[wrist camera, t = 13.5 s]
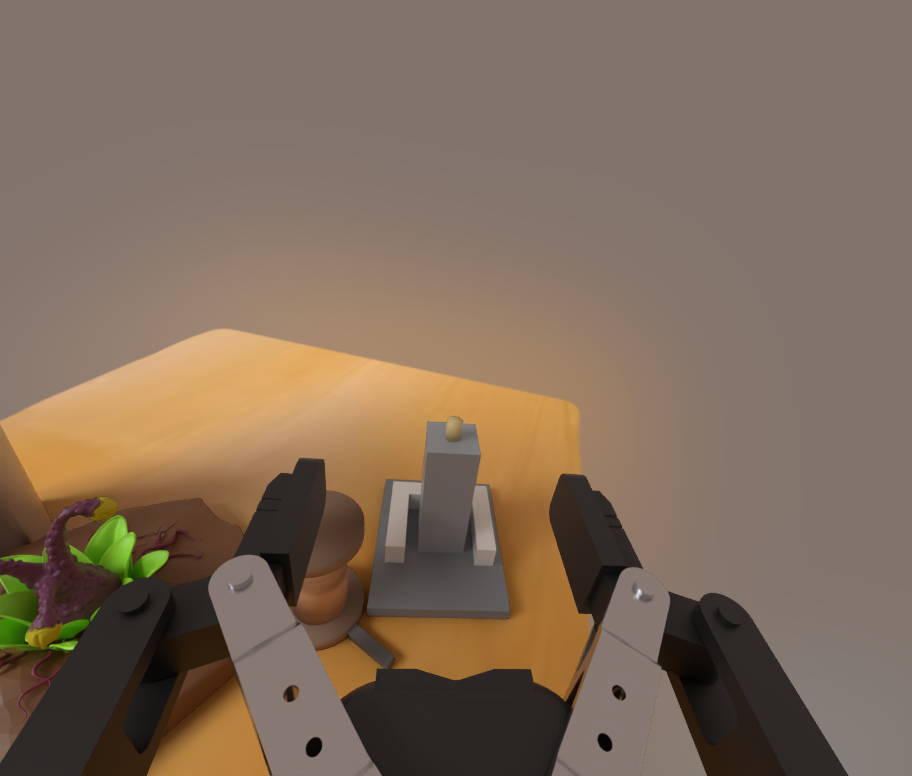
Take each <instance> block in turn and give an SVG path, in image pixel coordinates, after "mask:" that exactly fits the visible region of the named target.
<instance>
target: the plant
mask: <svg viewBox="0 0 912 776" xmlns="http://www.w3.org/2000/svg"><path fill="white" fill-rule="evenodd" d="M117 511H118V504H117V502H116V501H115V500H113V499H111V498H107V497H101V498H97V497H95V498H93V499H87V500H85V501H83V502H77V503H75V504H74V505H73V506H71V507H65V508H64V509H63V510H62V512H61V513H60V514H59V515H58V516H57V518H56V519H55V520H54V521H53V522H52V526H51V529H50V531H48V532H47V534H46V535H44V536H43V537H42V538H40V539H38V540H37V541H35V542H33V543H30V544H28V545H24V546H21V547H18V548H15V549H14V550H12V551H10V552H9V553H7V554H6V555H4V556H2V557H0V762H1V761H2V759H3V758H4V756H5V755H6V753H7V752H8V750H9V748H10V747H11V745H12V744H13V742H14V741H15V739H16V738H17V736H18V734H19V733H20V731H21V730H22V728H23V727H24V725H25V724H26V722H27V720H28V719H29V717H30V716H31V714H32V713H33V711H34V710H35V708H36V706H37V705H38V703H39V702H40V700H41V699H42V697H43V695H44V694H45V692H46V691H47V689H48V688H49V686H50V685H51V683H52V681H53V680H54V678H55V677H56V675H57V674H58V672H59V671H60V669H61V667H62V666H63V664H64V663H65V661H66V660H67V658H68V657H69V655H70V653H71V652H72V650H73V649H74V647H75V646H76V644H77V643H78V641H79V639H80V638H81V636H82V635H83V633H84V632H85V630H86V628H87V627H88V625H89V624H90V622H91V621H92V619H93V618H94V616H95V614H96V613H97V611H98V610H99V608H100V607H101V605H102V604H103V602H104V601H105V600H106V599H107V598H108V597H109V596H110V595H111V594H112V593H113V592H114V591H116V590H117V589H118V588H120V587H121V586H123V585H125V584H127V583H129V582H131V581H134V580H137V579H140V578H145V577H157V578H160V579H163V580H164V581H166V582H167V584H168V585H169V587H172V586H176V585H180V584H184V583H188V582H192V581H196V580H200V579H203V578H206V577H208V576H211V575H213V574H214V572H215V571H216V570H217V569H218V568H219V567H220V566H221V565H222V564H224V563H225V562H227V561H229V560H231V559H232V558H233V557H234V555H235V553H236V551H237V549H238V547H239V545H240V543H241V541H242V539H243V536H244V534H243V532H242V530H241V528H240V527H239V526H237V525H234V524H230V523H228V522H224V521H222V520H221V519H219V518H218V517H217V516H215V515H214V513H213V512H212V511H211V510H210V509H209V508H208V507H207V506H206V505H205V504H204V502H203V500H202V499H201V498H195V499H190V500H180V501H172V502H165V503H160V504H155V505H149V506H144V507H136V508H129V509H125V510H121V511H118V512H117ZM76 515H83V516H85V517H87V518H89V519H90V520H94V522H91V523H89V524H87V525H85V526H83V527H81V528H77V529H74V530H68V531H65V530H66V523H67V521H68V519H69V518H70V517H73V516H76ZM234 674H235V672H234V669H233V666H232V663H231V660H230V658H226V659H223V660H220V661H216V662H213V663H210V664H207V665H204V666H201V667H198V668H195V669H192V670H189V671H188V673H187V676H186V678H185V681H184V683H183V686H182V688H181V691H180V693H179V696H178V698H177V701H176V703H175V706H174V708H173V711H172V713H171V716H170V718H169V721H168V723H167V726H166V728H165V731H164V733H163V736H162V738H163V737H164V736H165V735H166V734H167V733H168V732H169V731H170V730H171V729H172V728H174V727H175V726H176V725H177V724H178V723H179V722H180V721H181V720H182V719H184V718H185V717H186V716H187V715H188V714H189V713H190V712H191V711H193V710H194V709H195V708H196V707H197V706H198V705H200V704H201V703H202V702H203V701H205V700H206V699H207V698H208V697H210V696H211V695H212V694H213V693H214V692H215V691H217V690H218V689H219V688H220V687H221V686H222V685H223V684H224V683H226V682H227V681H228V680H229V679H230V678H231V677H232V676H233V675H234Z"/></svg>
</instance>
